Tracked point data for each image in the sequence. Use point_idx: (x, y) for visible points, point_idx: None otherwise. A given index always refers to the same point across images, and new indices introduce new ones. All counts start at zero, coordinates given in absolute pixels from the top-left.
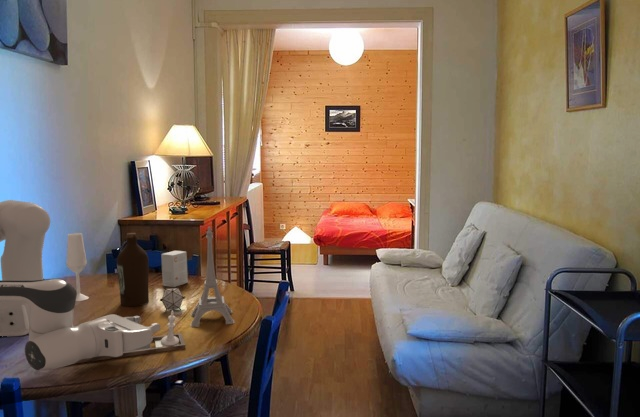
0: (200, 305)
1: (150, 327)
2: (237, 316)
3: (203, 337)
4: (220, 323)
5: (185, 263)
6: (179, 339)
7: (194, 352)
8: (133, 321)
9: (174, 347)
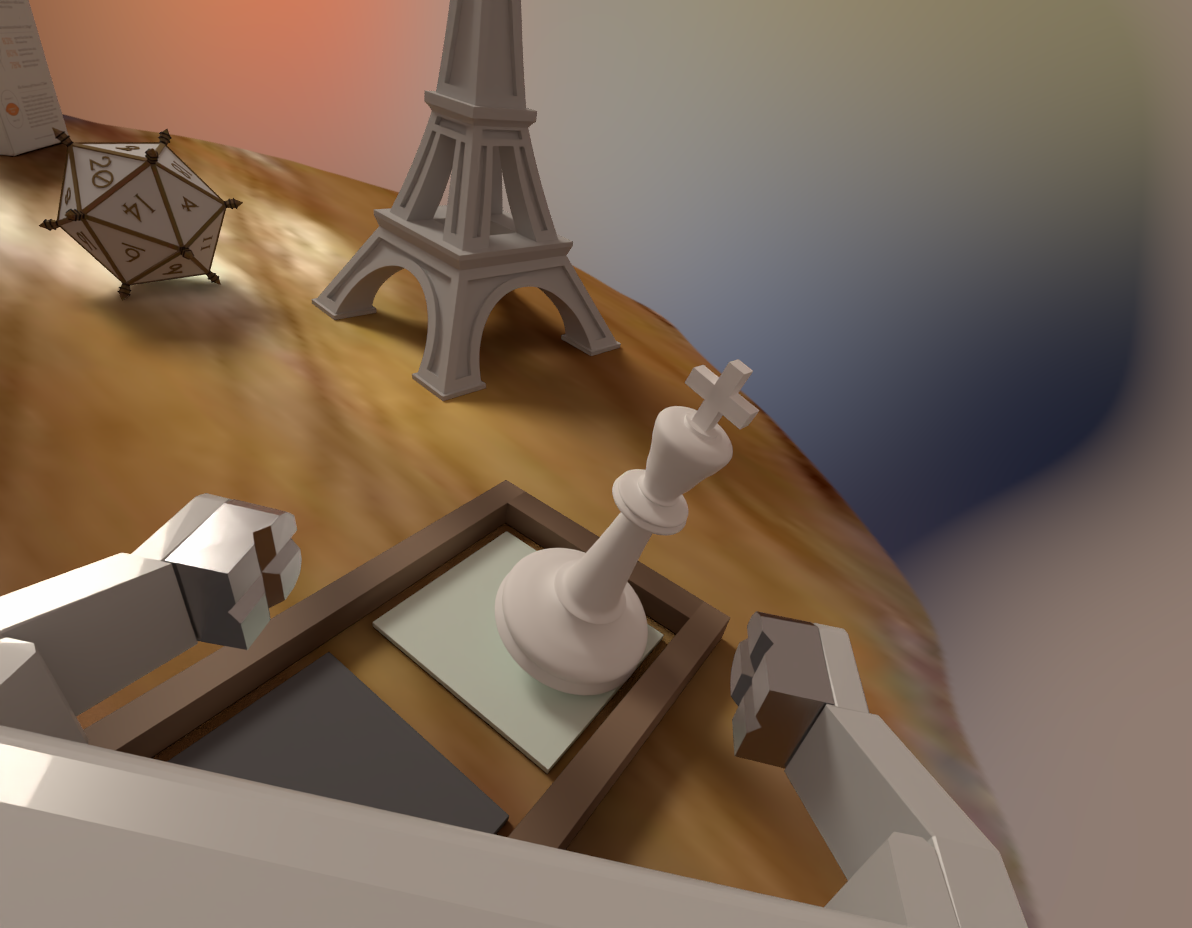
0: (467, 259)
1: (997, 850)
2: None
3: None
4: (559, 353)
5: (32, 33)
6: None
7: None
8: (184, 616)
9: (688, 679)
